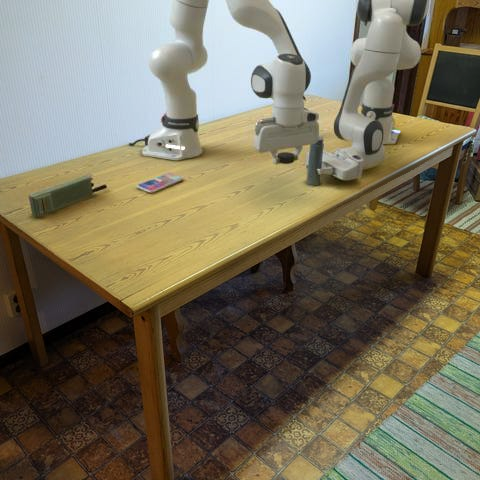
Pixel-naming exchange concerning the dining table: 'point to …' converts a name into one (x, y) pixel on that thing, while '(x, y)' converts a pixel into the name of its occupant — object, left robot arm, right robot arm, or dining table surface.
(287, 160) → the lid
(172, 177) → the smartphone
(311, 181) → the jar
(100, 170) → the dining table surface
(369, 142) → the right robot arm
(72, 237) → the dining table surface
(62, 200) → the handheld radio
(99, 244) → the dining table surface
